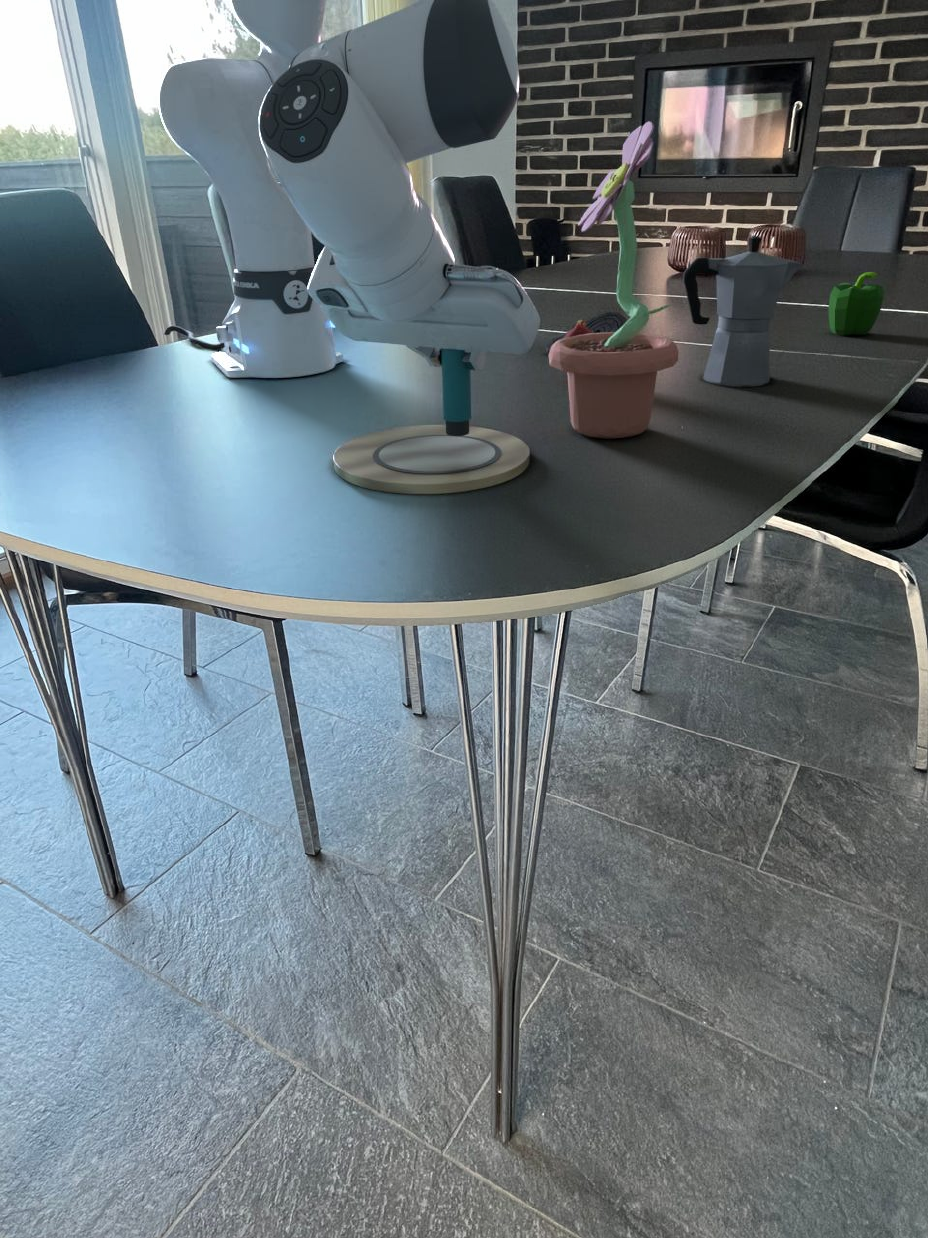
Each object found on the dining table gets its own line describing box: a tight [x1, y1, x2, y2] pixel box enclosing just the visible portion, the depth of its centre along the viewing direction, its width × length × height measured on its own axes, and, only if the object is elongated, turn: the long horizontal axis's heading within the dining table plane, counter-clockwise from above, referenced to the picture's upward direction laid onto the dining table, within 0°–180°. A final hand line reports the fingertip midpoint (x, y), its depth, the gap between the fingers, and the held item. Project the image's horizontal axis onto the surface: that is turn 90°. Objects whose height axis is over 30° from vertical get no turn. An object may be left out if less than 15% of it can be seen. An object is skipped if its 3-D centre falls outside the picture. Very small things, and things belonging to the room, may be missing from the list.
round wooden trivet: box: [332, 424, 531, 495], centre depth 85 cm, size 20×20×1 cm
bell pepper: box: [828, 271, 885, 337], centre depth 141 cm, size 8×8×10 cm
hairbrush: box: [546, 307, 628, 357], centre depth 140 cm, size 8×4×25 cm
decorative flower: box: [548, 120, 679, 440], centre depth 88 cm, size 15×14×30 cm
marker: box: [441, 348, 472, 436], centre depth 82 cm, size 3×3×12 cm
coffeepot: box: [682, 235, 803, 388], centre depth 111 cm, size 15×9×18 cm, turn 92°
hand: (458, 362), depth 82 cm, fingers closed on marker, 3 cm apart
